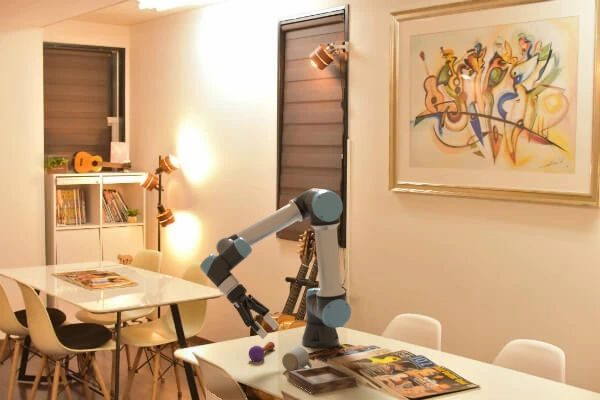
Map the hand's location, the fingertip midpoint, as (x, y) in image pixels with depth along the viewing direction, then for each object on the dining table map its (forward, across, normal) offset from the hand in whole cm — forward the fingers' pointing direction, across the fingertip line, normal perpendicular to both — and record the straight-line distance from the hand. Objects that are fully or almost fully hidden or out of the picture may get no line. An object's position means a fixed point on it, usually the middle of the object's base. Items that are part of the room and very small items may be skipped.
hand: (271, 332), depth 306 cm
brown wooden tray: (+26, +13, +7) cm, 29 cm away
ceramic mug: (+17, 0, -2) cm, 17 cm away
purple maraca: (+4, -14, -16) cm, 21 cm away
